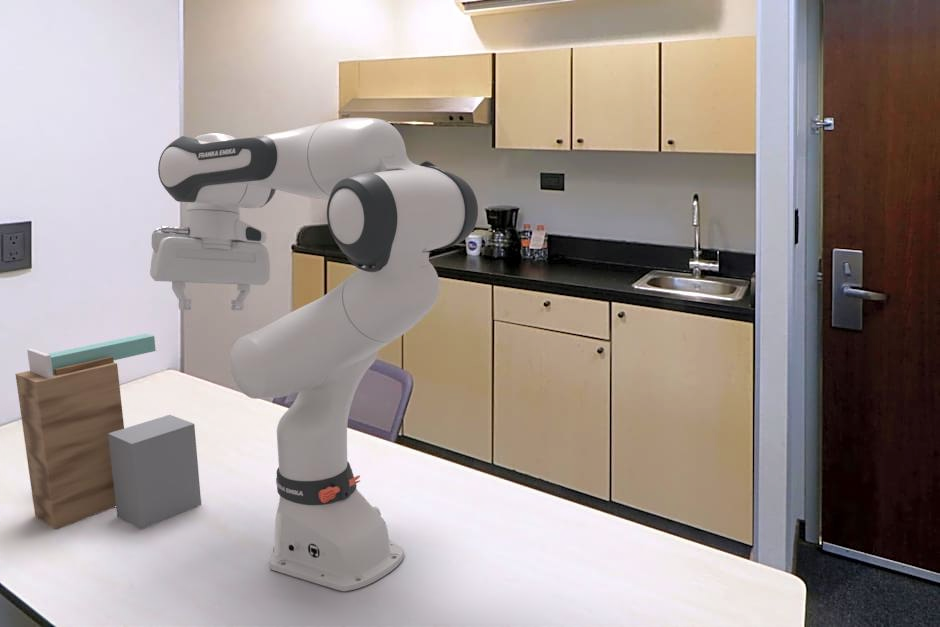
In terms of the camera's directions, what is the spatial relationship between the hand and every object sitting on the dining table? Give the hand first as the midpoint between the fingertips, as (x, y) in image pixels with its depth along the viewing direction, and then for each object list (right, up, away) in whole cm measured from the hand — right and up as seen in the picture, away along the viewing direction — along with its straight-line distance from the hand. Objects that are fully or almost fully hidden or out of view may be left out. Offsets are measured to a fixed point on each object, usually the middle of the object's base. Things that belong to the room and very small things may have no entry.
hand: (211, 310), depth 130 cm
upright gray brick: (-12, -37, +9) cm, 40 cm away
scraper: (-23, -9, +8) cm, 27 cm away
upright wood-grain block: (-27, -37, +10) cm, 47 cm away
